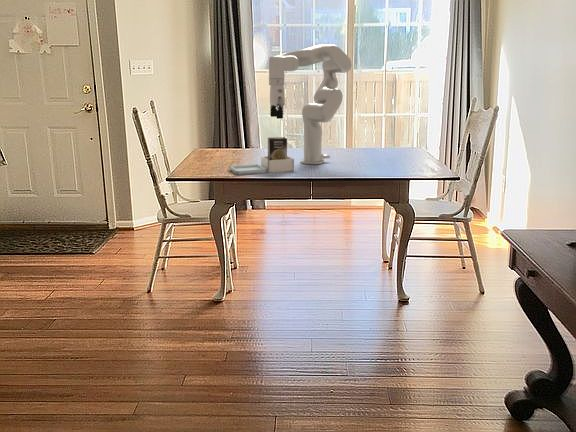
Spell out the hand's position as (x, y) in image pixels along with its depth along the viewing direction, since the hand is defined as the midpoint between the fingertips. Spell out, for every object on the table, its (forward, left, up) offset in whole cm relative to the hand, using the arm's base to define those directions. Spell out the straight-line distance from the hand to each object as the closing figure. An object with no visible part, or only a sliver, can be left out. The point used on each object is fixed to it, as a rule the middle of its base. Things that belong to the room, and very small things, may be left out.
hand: (276, 117), depth 284 cm
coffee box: (0, 0, -26) cm, 26 cm away
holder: (0, 0, -26) cm, 26 cm away
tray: (+15, 0, -26) cm, 30 cm away
